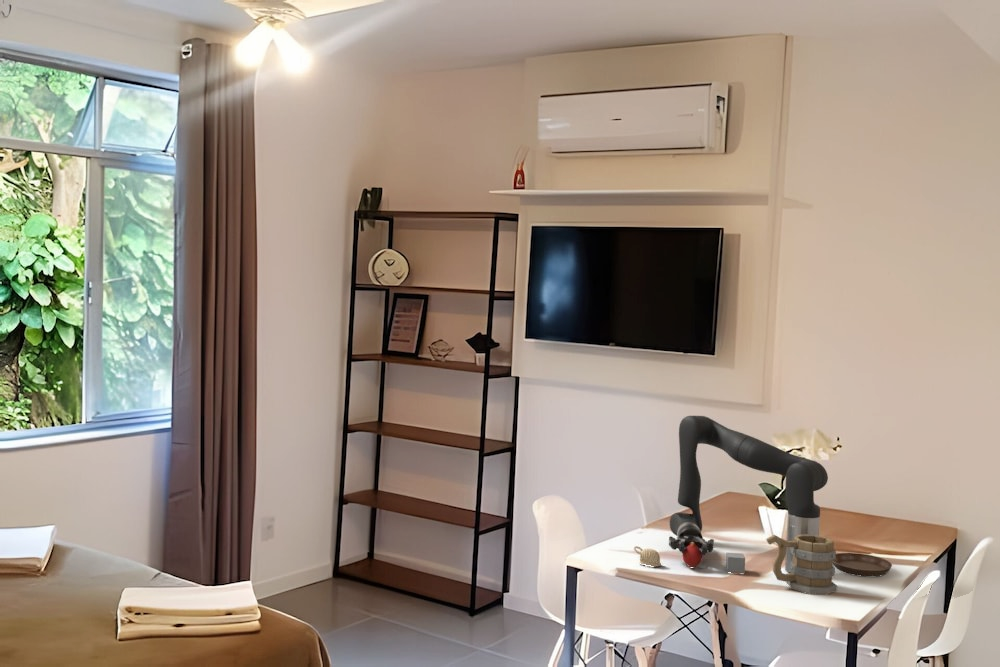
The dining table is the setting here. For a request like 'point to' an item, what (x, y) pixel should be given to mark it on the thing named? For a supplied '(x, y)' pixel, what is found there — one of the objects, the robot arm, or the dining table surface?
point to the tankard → (807, 563)
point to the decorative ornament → (649, 556)
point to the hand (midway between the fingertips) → (693, 550)
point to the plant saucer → (861, 564)
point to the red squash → (692, 555)
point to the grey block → (735, 562)
